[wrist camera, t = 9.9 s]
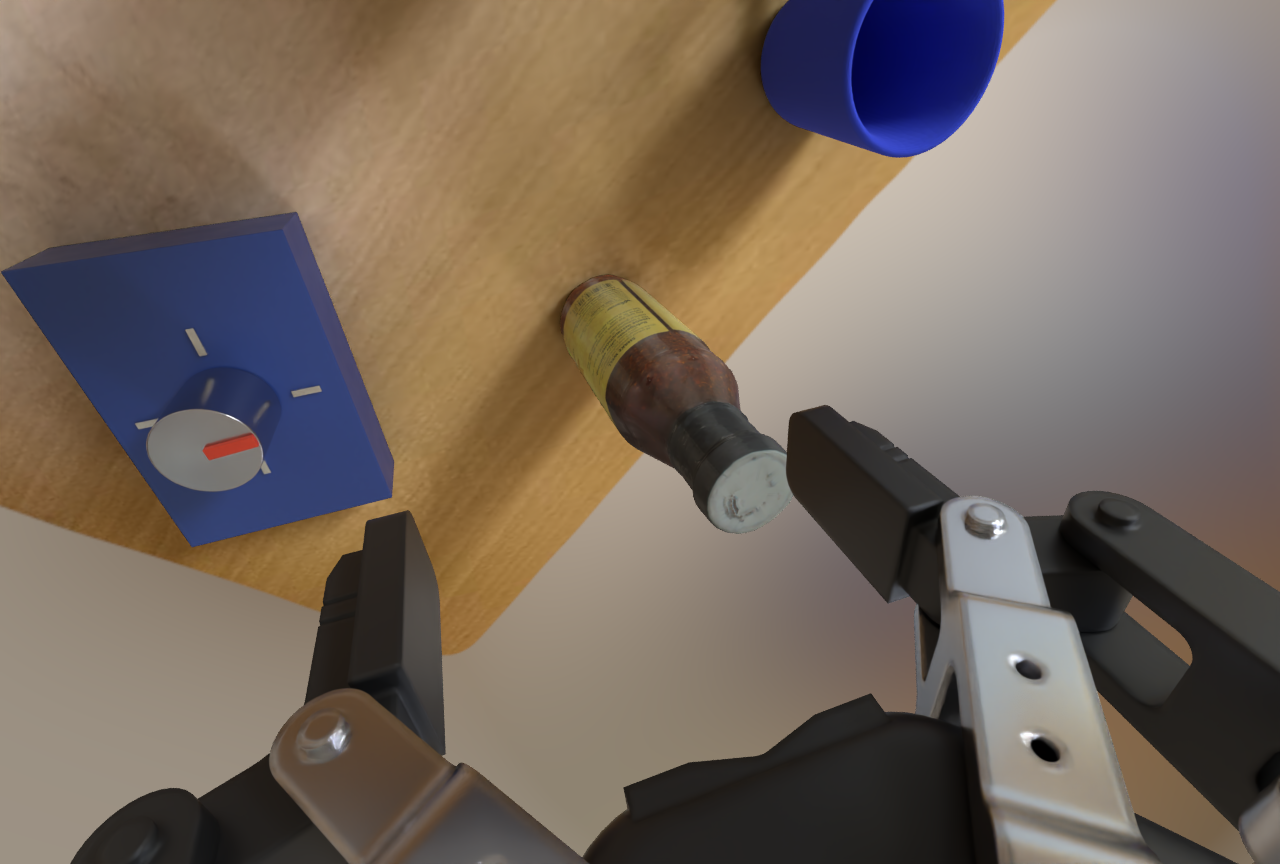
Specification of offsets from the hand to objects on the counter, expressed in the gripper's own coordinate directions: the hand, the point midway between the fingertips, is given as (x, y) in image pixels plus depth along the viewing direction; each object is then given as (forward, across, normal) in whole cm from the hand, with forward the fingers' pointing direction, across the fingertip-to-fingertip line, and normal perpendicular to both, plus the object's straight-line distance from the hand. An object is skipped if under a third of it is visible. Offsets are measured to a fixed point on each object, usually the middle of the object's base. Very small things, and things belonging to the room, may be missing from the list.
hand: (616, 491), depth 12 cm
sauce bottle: (+26, -6, +7) cm, 28 cm away
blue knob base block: (+26, +15, +6) cm, 31 cm away
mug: (+26, -19, -8) cm, 33 cm away
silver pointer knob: (+22, +15, +6) cm, 27 cm away
